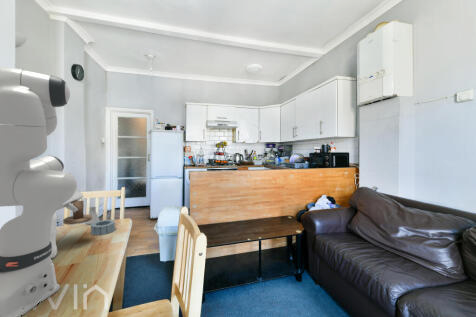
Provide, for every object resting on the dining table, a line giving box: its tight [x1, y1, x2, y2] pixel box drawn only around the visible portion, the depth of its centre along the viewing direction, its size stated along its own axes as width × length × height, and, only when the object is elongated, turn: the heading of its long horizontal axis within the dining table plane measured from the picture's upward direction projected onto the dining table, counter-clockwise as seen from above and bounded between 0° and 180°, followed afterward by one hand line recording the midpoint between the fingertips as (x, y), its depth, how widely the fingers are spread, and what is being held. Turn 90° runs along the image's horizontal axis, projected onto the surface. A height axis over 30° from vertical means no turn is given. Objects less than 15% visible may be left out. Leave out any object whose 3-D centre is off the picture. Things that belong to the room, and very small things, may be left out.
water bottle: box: [50, 212, 58, 259], centre depth 82 cm, size 7×7×25 cm
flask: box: [84, 206, 101, 226], centre depth 124 cm, size 7×7×10 cm
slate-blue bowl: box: [90, 219, 116, 236], centre depth 112 cm, size 11×11×4 cm
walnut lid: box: [62, 200, 92, 225], centre depth 97 cm, size 11×11×9 cm
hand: (79, 209), depth 98 cm, fingers closed on walnut lid, 4 cm apart
